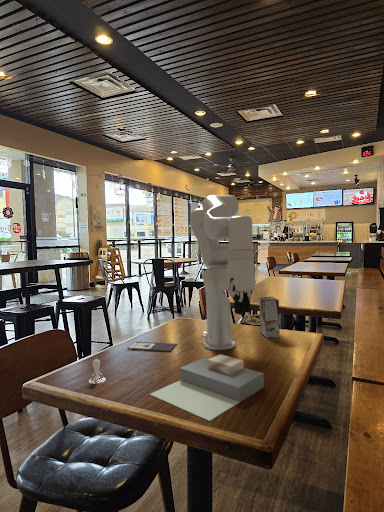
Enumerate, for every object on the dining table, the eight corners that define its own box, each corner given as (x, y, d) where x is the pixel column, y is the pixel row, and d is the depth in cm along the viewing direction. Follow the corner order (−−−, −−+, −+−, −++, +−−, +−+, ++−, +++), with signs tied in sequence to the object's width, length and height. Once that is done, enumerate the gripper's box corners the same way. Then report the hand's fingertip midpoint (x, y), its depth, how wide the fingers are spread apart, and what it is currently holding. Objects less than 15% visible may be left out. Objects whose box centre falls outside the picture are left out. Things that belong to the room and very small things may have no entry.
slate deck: (180, 380, 105) (179, 367, 105) (206, 369, 114) (205, 357, 114) (239, 402, 90) (238, 387, 90) (263, 387, 99) (263, 373, 98)
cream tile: (207, 367, 104) (207, 359, 104) (220, 361, 109) (219, 354, 109) (231, 374, 98) (231, 366, 98) (243, 368, 103) (243, 360, 102)
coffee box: (280, 337, 146) (279, 300, 145) (265, 338, 146) (264, 300, 145) (273, 331, 155) (272, 296, 155) (259, 332, 155) (258, 297, 154)
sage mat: (149, 394, 96) (149, 393, 96) (180, 380, 105) (180, 380, 105) (209, 421, 81) (209, 420, 81) (239, 402, 90) (239, 401, 90)
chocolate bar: (170, 350, 132) (127, 348, 136) (170, 353, 132) (127, 351, 137) (177, 343, 141) (136, 341, 145) (177, 346, 141) (136, 344, 145)
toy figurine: (108, 376, 110) (107, 354, 110) (99, 387, 102) (98, 363, 102) (92, 376, 111) (91, 354, 110) (82, 387, 103) (80, 363, 102)
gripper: (245, 253, 117) (247, 307, 118) (215, 256, 105) (217, 316, 106) (265, 253, 112) (266, 309, 113) (235, 257, 100) (237, 319, 101)
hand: (242, 312), depth 110 cm, fingers open, 2 cm apart
